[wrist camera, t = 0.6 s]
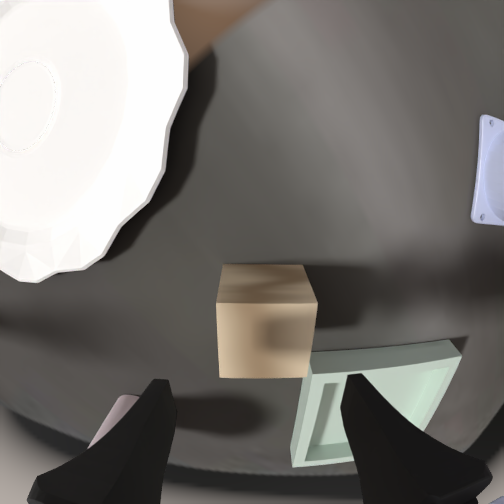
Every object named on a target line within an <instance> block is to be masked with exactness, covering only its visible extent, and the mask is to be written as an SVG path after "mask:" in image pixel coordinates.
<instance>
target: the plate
mask: <svg viewBox="0 0 504 504" xmlns="http://www.w3.org/2000/svg"><path fill="white" fill-rule="evenodd" d="M188 69H189V54H188V52H187V50H186V47H185V45H184V43H183V41H182V39H181V36H180V34H179V31H178V29H177V27H176V25H175V19H174V5H173V0H0V270H2V271H3V272H5V273H6V274H8V275H10V276H11V277H13V278H15V279H16V280H18V281H22V282H33V283H39V282H40V281H42V280H44V279H46V278H48V277H50V276H52V275H54V274H56V273H58V272H68V271H77V270H85V269H86V268H88V267H89V266H91V265H92V264H93V263H95V262H96V261H98V260H99V259H101V258H102V257H104V256H105V255H106V253H107V251H108V250H109V248H110V246H111V244H112V243H113V241H114V239H115V237H116V236H117V234H118V232H119V231H120V229H121V227H122V226H123V225H124V224H125V223H126V222H127V221H128V220H129V219H131V218H132V217H133V216H134V215H135V214H136V213H137V212H138V211H140V210H141V209H142V208H143V207H144V206H145V205H146V204H148V203H149V202H150V201H151V199H152V197H153V195H154V193H155V191H156V189H157V187H158V185H159V183H160V181H161V179H162V177H163V175H164V173H165V171H166V165H167V155H168V146H169V138H170V130H171V126H172V124H173V122H174V119H175V117H176V115H177V112H178V110H179V108H180V105H181V103H182V101H183V98H184V96H185V94H186V92H187V90H188Z"/></svg>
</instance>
